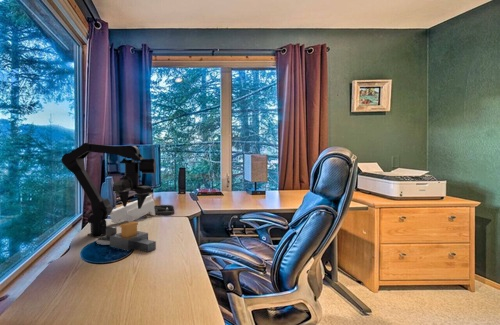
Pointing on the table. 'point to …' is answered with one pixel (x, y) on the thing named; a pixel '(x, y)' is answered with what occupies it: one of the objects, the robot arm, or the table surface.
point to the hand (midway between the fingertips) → (132, 207)
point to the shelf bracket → (133, 211)
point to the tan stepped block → (129, 229)
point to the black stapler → (164, 210)
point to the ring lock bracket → (127, 240)
